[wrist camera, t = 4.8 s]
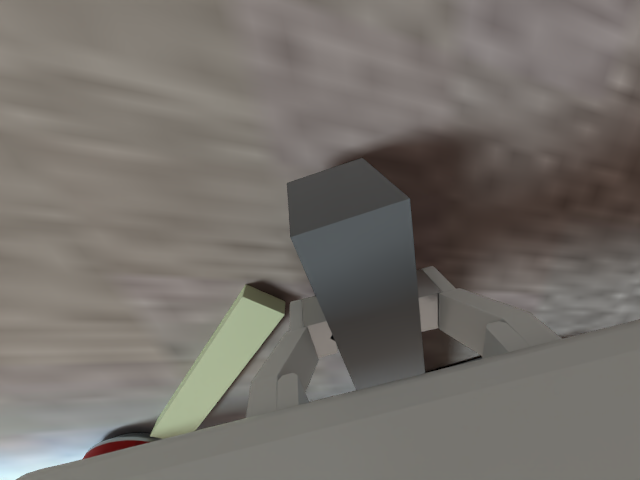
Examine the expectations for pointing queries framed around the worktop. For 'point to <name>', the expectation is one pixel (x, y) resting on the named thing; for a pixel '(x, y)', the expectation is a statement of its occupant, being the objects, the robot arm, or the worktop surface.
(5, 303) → the worktop surface
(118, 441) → the soda can
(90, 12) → the worktop surface
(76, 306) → the worktop surface
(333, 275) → the hook tool
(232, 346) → the pale green stick
